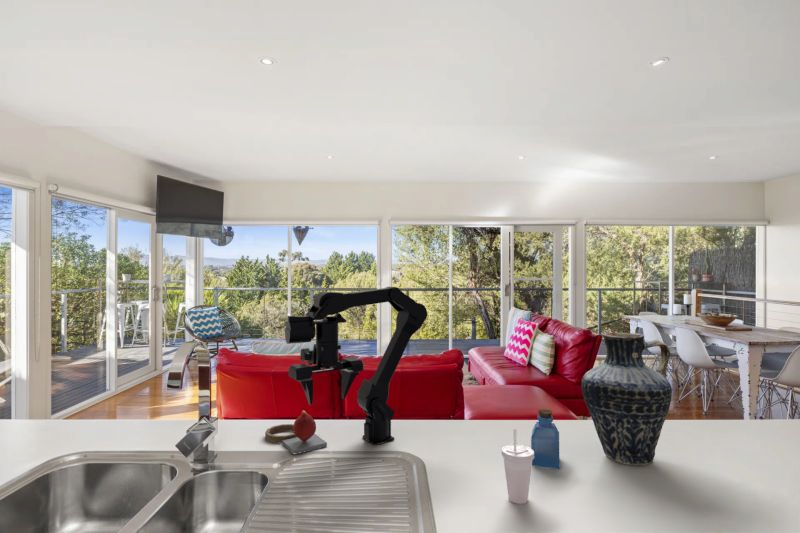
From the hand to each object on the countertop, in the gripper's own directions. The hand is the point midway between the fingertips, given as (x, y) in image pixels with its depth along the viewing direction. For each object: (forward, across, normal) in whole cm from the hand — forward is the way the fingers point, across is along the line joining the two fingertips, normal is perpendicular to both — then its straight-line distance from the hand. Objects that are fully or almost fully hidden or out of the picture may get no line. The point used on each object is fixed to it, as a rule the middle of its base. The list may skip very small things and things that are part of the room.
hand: (327, 401), depth 116 cm
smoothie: (+12, -20, +45) cm, 51 cm away
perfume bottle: (+12, -39, +37) cm, 55 cm away
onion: (+11, +4, -6) cm, 13 cm away
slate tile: (+12, +4, -6) cm, 14 cm away
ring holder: (+12, +6, -15) cm, 20 cm away
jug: (+12, -57, +47) cm, 75 cm away
